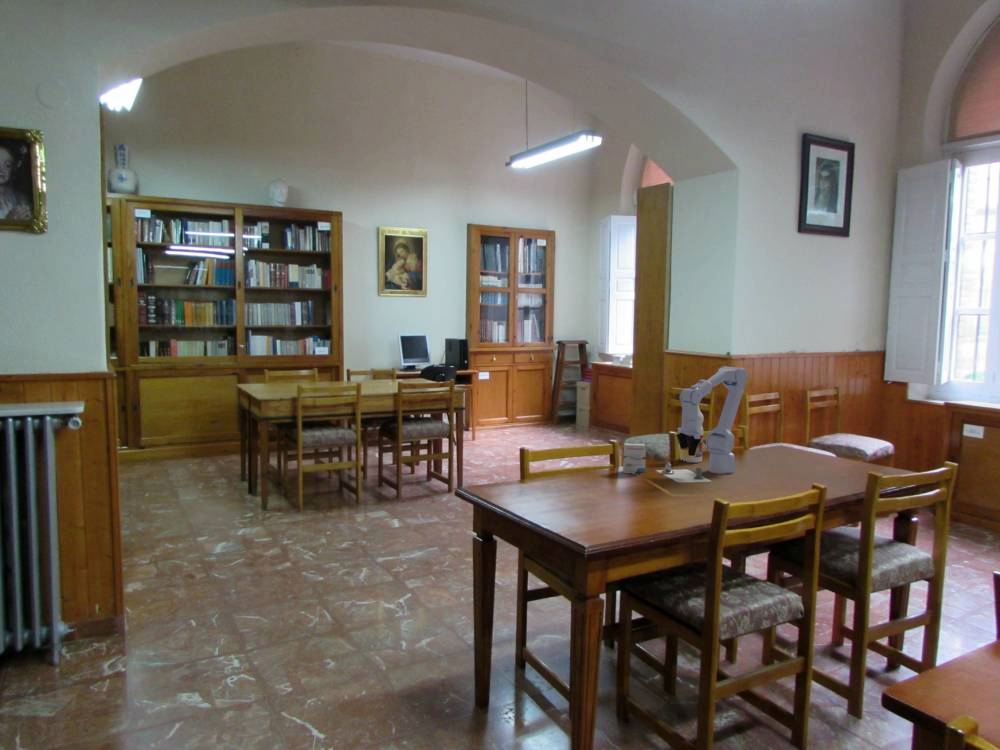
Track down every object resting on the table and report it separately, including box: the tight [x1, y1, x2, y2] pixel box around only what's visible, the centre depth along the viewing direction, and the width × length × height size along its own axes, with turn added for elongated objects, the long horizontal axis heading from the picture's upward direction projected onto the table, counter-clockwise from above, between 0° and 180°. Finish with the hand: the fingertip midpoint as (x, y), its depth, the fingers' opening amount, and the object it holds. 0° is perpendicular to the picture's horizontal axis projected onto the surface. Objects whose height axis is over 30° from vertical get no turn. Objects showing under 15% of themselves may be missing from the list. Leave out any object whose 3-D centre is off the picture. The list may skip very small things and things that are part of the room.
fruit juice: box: [679, 403, 704, 463], centre depth 294 cm, size 9×9×28 cm
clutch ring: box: [679, 447, 696, 458], centre depth 260 cm, size 6×6×3 cm
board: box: [655, 467, 713, 483], centre depth 262 cm, size 14×20×5 cm
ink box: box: [622, 442, 647, 475], centre depth 269 cm, size 8×5×12 cm, turn 84°
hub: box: [662, 461, 674, 475], centre depth 266 cm, size 5×5×4 cm
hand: (687, 453), depth 260 cm, fingers closed on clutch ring, 6 cm apart
